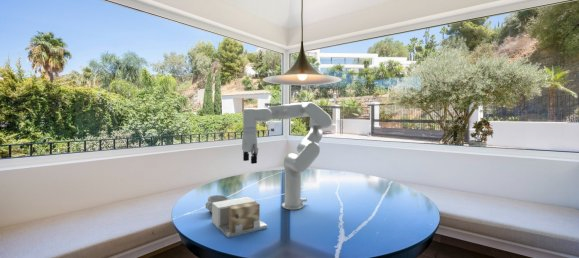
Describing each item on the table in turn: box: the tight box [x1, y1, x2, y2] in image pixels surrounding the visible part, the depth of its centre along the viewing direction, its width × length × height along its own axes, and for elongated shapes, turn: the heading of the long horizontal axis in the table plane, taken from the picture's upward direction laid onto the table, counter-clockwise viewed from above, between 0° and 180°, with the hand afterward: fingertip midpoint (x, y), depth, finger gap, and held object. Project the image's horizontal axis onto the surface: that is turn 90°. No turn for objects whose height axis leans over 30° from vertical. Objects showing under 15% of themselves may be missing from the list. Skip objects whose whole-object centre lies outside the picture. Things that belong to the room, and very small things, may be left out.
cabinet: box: [211, 196, 257, 229], centre depth 145 cm, size 20×9×10 cm, turn 124°
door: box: [229, 201, 261, 231], centre depth 134 cm, size 14×5×10 cm, turn 124°
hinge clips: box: [217, 219, 268, 239], centre depth 136 cm, size 20×12×4 cm, turn 124°
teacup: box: [205, 194, 229, 213], centre depth 157 cm, size 14×11×8 cm
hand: (249, 161), depth 156 cm, fingers open, 9 cm apart
